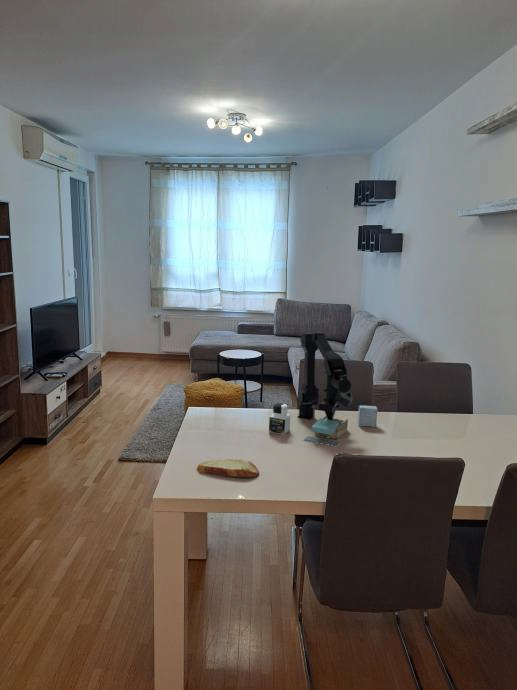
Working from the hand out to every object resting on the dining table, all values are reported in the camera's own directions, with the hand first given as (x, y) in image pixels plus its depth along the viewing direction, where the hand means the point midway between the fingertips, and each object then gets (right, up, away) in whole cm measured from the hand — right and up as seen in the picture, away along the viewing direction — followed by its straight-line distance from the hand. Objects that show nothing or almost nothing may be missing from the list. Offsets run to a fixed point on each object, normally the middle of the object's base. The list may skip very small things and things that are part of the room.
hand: (330, 422), depth 222 cm
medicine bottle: (-22, -4, +2) cm, 22 cm away
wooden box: (+1, -5, +3) cm, 6 cm away
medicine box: (+18, -4, +14) cm, 24 cm away
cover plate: (-3, -2, -6) cm, 6 cm away
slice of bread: (-41, -12, -41) cm, 59 cm away
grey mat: (-5, -7, -8) cm, 12 cm away
